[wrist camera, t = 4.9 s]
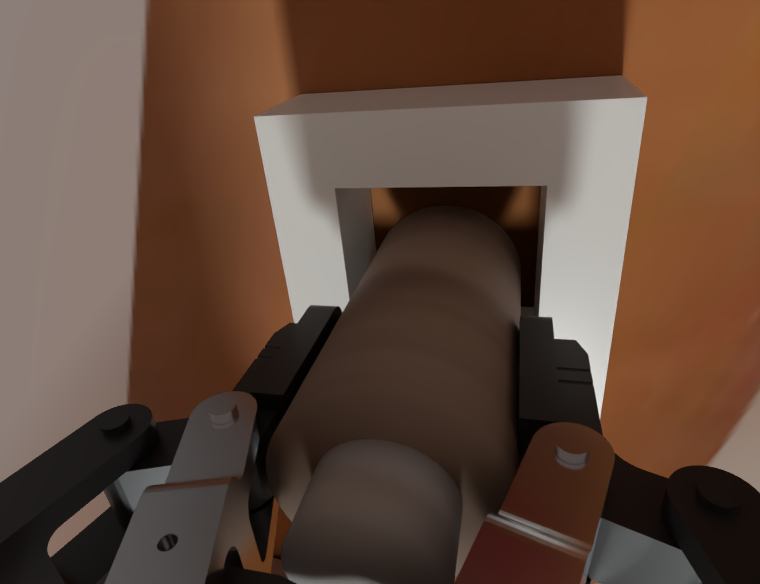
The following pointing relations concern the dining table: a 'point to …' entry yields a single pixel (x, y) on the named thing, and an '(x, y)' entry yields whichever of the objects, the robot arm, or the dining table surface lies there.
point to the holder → (462, 183)
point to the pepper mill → (406, 410)
